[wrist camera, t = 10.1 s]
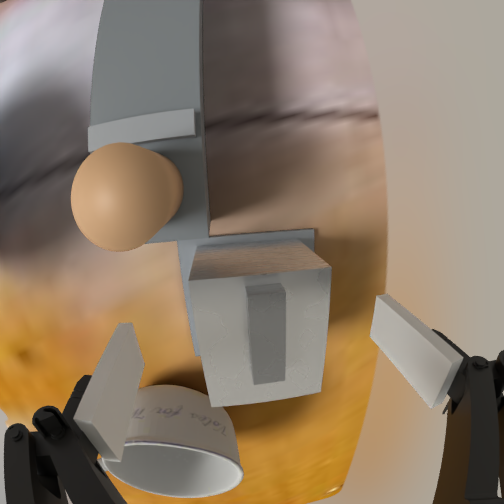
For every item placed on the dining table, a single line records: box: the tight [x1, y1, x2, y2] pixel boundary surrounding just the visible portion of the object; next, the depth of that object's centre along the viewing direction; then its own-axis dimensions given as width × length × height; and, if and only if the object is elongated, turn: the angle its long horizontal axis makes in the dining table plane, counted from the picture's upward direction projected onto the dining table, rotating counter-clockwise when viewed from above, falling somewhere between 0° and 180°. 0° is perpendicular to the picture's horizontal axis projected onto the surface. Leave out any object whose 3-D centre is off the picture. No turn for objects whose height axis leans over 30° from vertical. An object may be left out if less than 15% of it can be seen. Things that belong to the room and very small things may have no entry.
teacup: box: [97, 385, 244, 498], centre depth 18 cm, size 14×11×8 cm
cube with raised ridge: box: [188, 238, 332, 407], centre depth 16 cm, size 8×6×7 cm
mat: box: [177, 229, 314, 356], centre depth 19 cm, size 9×9×1 cm
